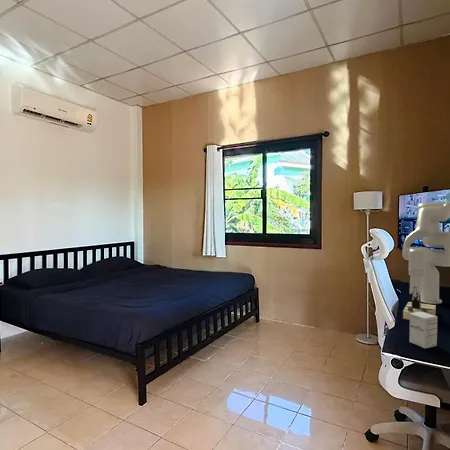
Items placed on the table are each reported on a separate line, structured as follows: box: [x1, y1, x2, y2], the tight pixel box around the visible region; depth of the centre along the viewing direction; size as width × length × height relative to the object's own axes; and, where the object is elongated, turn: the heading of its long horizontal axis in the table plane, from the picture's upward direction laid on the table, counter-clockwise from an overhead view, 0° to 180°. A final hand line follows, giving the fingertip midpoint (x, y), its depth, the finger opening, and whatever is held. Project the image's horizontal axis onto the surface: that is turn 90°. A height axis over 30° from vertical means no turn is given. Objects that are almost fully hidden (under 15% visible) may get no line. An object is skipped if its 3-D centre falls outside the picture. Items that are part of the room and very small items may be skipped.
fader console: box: [402, 301, 437, 321], centre depth 174 cm, size 20×13×6 cm, turn 144°
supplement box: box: [408, 311, 438, 349], centre depth 138 cm, size 7×7×13 cm
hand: (416, 306), depth 175 cm, fingers closed on fader tab, 3 cm apart
